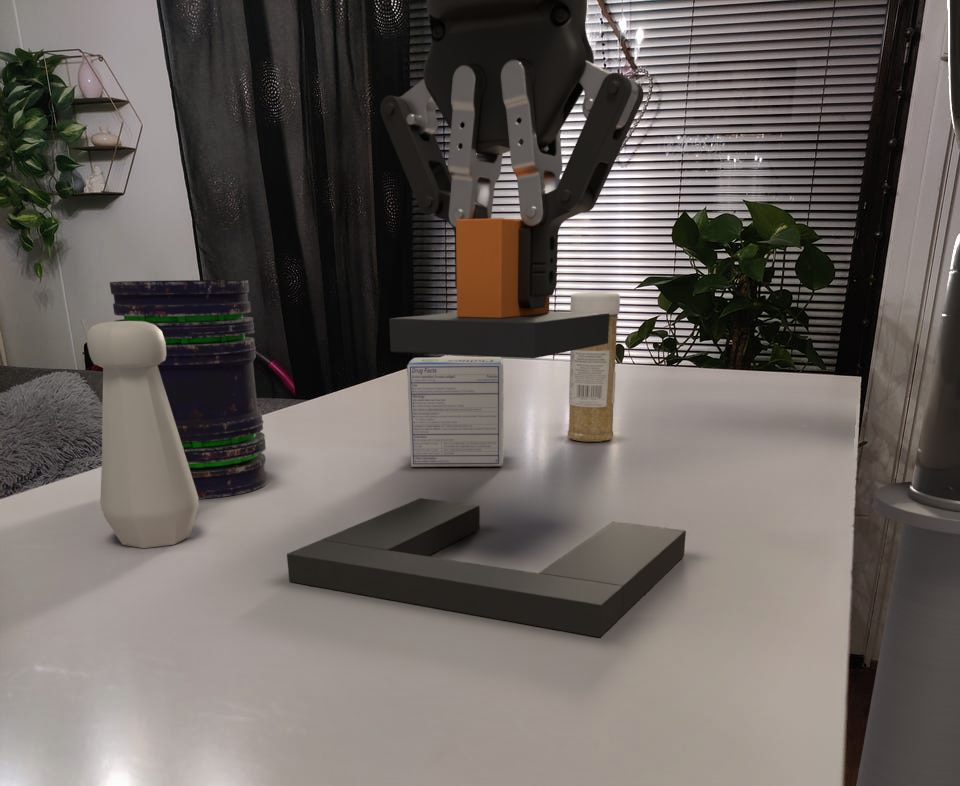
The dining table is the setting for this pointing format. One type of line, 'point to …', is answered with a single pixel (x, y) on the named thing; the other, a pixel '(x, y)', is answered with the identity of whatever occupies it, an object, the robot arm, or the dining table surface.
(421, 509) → the large u-shaped block
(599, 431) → the sprinkles bottle
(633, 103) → the robot arm
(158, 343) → the salt shaker
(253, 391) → the storage jar
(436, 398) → the medicine box
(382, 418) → the dining table surface
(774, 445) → the dining table surface
